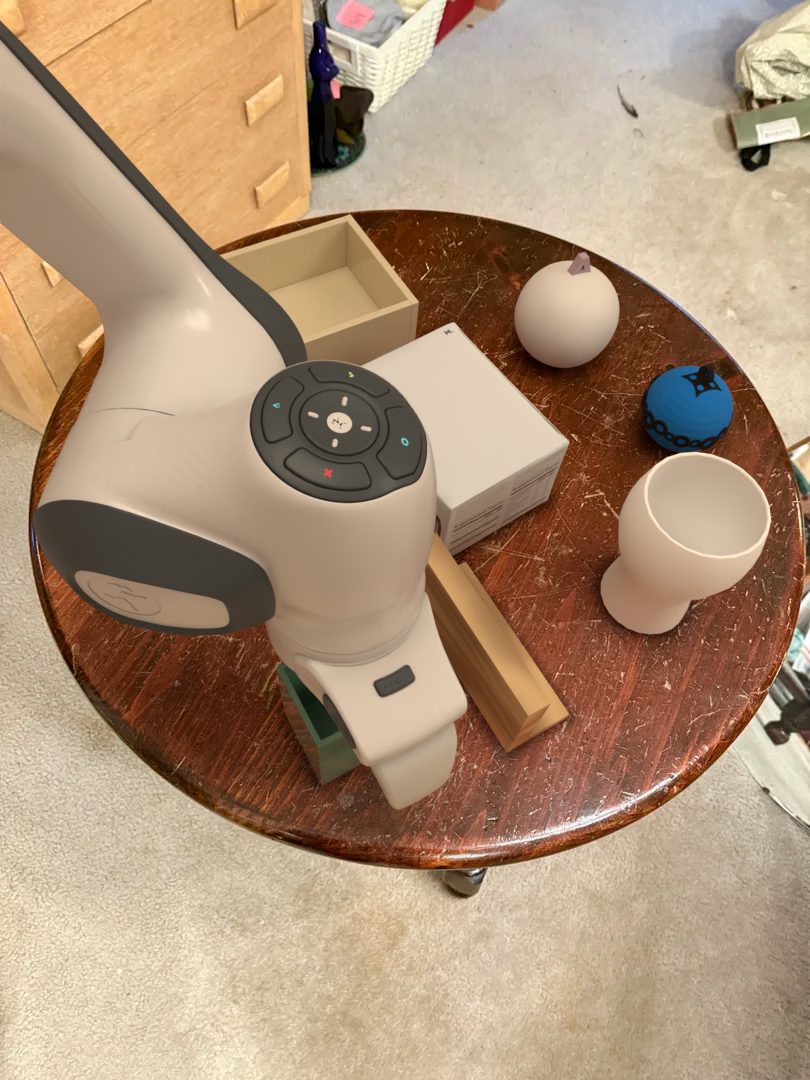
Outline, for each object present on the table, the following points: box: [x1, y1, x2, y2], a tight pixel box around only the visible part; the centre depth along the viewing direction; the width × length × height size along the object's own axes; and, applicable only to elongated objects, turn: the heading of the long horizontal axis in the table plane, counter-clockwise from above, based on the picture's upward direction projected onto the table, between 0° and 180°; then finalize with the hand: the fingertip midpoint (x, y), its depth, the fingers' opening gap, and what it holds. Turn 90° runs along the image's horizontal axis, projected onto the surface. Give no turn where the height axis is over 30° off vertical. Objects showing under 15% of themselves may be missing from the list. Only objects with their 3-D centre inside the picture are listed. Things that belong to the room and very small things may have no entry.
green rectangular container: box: [275, 662, 363, 787], centre depth 61 cm, size 12×7×12 cm
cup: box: [600, 451, 772, 635], centre depth 67 cm, size 11×11×15 cm
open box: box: [219, 214, 420, 366], centre depth 84 cm, size 19×15×7 cm
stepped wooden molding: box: [424, 533, 570, 753], centre depth 65 cm, size 6×16×9 cm, turn 30°
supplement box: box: [361, 321, 570, 557], centre depth 75 cm, size 17×13×9 cm
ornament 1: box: [514, 251, 620, 369], centre depth 83 cm, size 10×10×12 cm
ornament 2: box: [640, 364, 734, 453], centre depth 78 cm, size 9×9×10 cm
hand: (344, 689), depth 57 cm, fingers open, 8 cm apart
